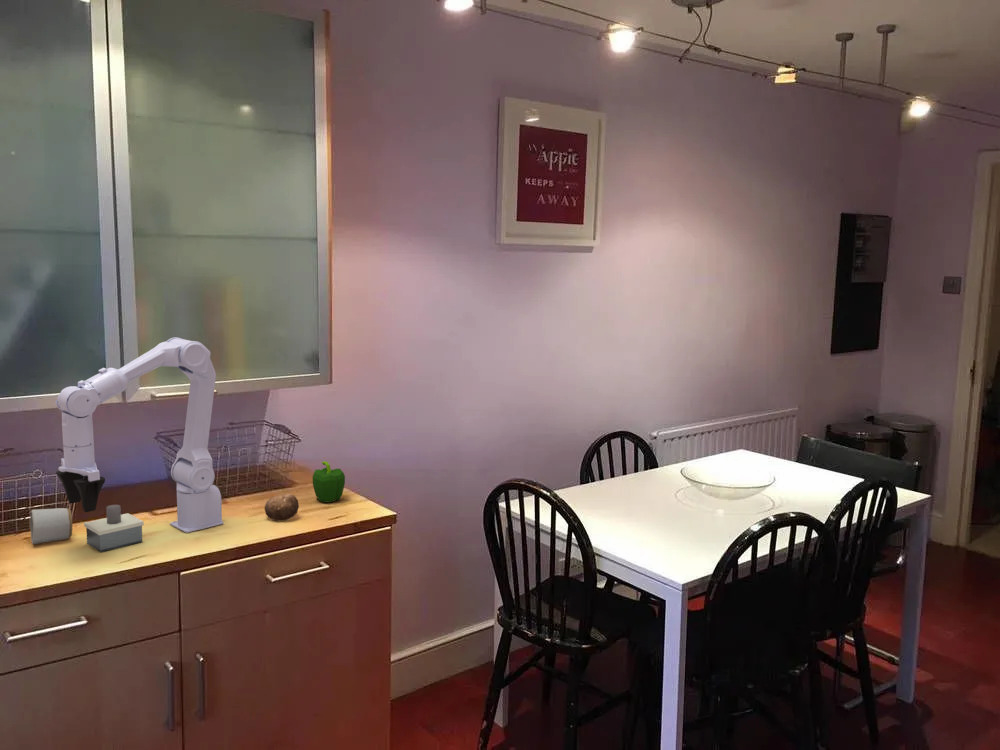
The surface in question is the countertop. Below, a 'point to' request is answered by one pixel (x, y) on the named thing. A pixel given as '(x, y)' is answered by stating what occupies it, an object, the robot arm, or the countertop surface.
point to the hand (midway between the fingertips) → (82, 506)
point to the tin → (114, 539)
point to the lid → (113, 521)
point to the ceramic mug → (50, 525)
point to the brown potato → (281, 507)
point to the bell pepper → (328, 483)
